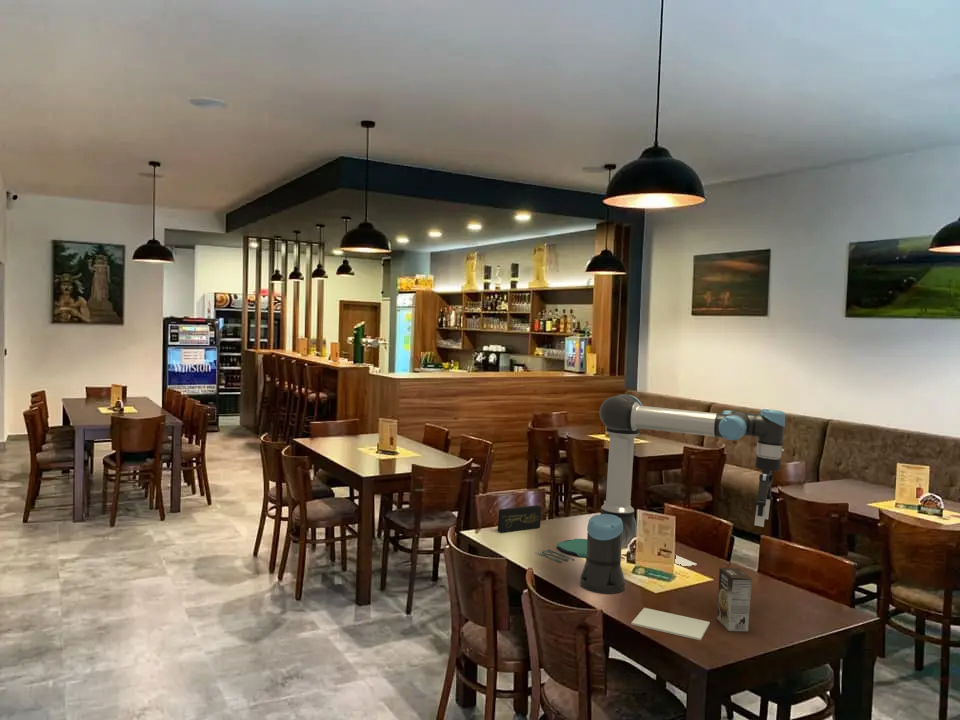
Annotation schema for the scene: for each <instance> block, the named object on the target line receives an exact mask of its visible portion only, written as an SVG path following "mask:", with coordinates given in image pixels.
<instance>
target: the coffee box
mask: <svg viewBox="0 0 960 720" xmlns="http://www.w3.org/2000/svg"><path fill="white" fill-rule="evenodd" d="M718 575H719V576H718V591H717V593H718V595H717V608H716V609H717V611H716V612H717V613H716V620H717V621H719V623H720V624H721V625H722V626H723V627H724V628H725V629H726V630H727V631H728V632H749V627H750V626H749V625H750V624H749V623H750V612H751V611H750V609H751V596H752V580H753V578H751V576H749V575H748V574H746V573H745V572H744V571H743V570H742V569H740V568H739V567H738V568H737V567H719V573H718Z"/></svg>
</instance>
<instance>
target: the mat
mask: <svg viewBox="0 0 960 720" xmlns="http://www.w3.org/2000/svg"><path fill="white" fill-rule="evenodd" d="M710 624H711V622H710V621H707V620H702V619H698V618H694V617H690V616H684V615H679V614H675V613H671V612H665V611H662V610H656V609H652V608H647V607H643V609H641V611H640V612H638V615H636V617H635V618H634V619H633V620H632V621H631V625H632V626H637V627H641V628H645V629H647V630H649V629H650V630H653V631H658V632H662V633H667V634H670V635H675V636H679V637H683V638H688V639H693V640H696V641H702V639H703V638H704V635H705V634H706V632H707V630H708V628H709V626H710Z"/></svg>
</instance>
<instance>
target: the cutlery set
mask: <svg viewBox="0 0 960 720" xmlns="http://www.w3.org/2000/svg"><path fill="white" fill-rule="evenodd" d="M556 548H557V549H559V550H561V551H563V552H565V553H568V554H572V555H577V556H578V557H579V558H582V559H584V558H586V556H587V538H572V539H568V540H567V539H566V540H564V541H559V542H557V546H556ZM537 552H538V551H536V552H535V554H536V553H537ZM563 552H562V553H560V552H558V551H556V550H554V549H549V548H548V549H547V550H544V549H543V550H541V553H540V552H538V554H539V553H540V554H539V555H538V554H537V555H538V556H540V555H541V556H540V557H542V556H545V557H544V558H547V559H549V560H551V561H554V562H557V563H560V564H562V563H563V561H566V562H569V559H571V560H572V561H573V562H574V561H575V558H573V557H570V556H567V554H565V553H564V554H563ZM551 556H553V557H555V558H553V557H551ZM558 558H559V559H558ZM562 560H563V561H562Z"/></svg>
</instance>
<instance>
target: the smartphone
mask: <svg viewBox="0 0 960 720" xmlns="http://www.w3.org/2000/svg"><path fill="white" fill-rule="evenodd" d="M675 555H676V559H675V563H674V564H675V565H677V564H679V565H678V566H680V564H681V565H682V566H688V567H693V566H692V565H694V566H697V565H698V564H697V563H696V562H693V561H691V560H689V559H686V558H684V557H682V556H679V555H677V554H675ZM682 566H681V567H682Z"/></svg>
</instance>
